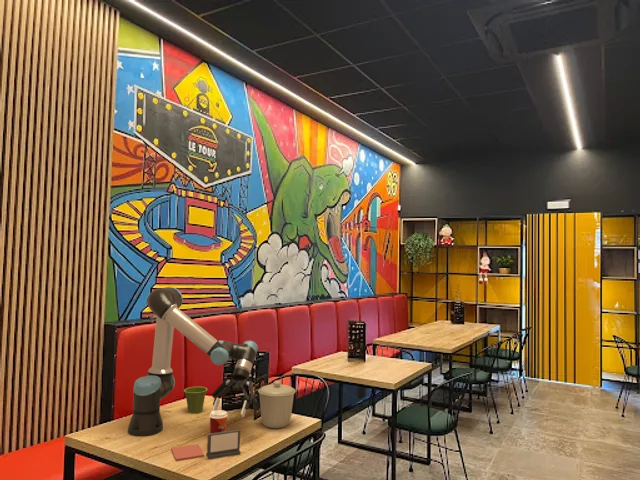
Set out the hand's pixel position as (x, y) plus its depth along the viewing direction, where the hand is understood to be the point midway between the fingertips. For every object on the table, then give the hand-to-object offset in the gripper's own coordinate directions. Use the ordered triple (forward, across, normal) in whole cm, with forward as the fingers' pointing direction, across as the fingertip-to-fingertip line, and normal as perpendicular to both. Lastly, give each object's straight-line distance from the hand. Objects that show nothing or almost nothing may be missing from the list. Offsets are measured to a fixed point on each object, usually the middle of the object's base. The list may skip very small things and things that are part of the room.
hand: (227, 414), depth 204 cm
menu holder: (+18, -5, +2) cm, 18 cm away
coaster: (+20, +10, +4) cm, 22 cm away
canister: (-10, -14, -27) cm, 32 cm away
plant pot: (-14, +33, -31) cm, 47 cm away
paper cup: (+13, +2, -4) cm, 13 cm away
